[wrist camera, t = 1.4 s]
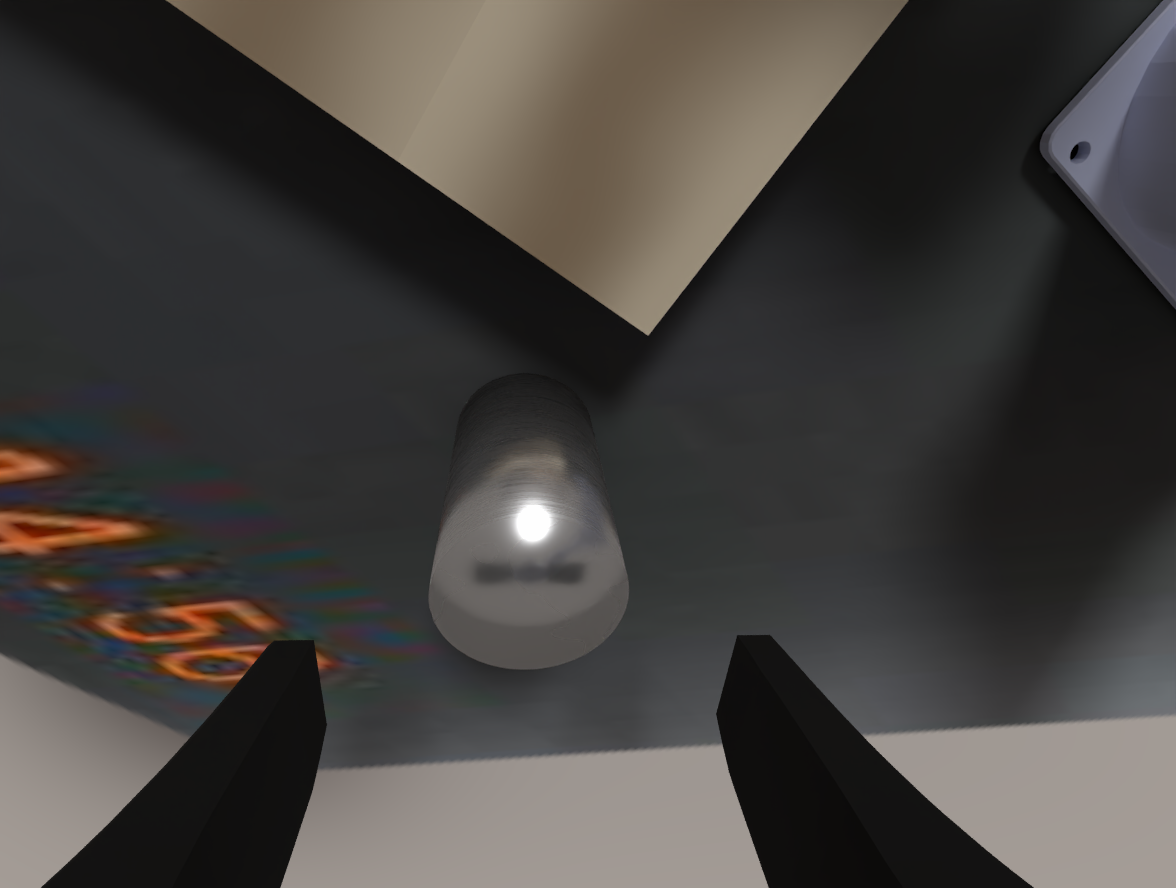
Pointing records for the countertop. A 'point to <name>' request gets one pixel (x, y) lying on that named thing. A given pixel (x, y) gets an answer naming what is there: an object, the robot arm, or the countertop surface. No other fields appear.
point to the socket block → (574, 111)
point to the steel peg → (526, 530)
